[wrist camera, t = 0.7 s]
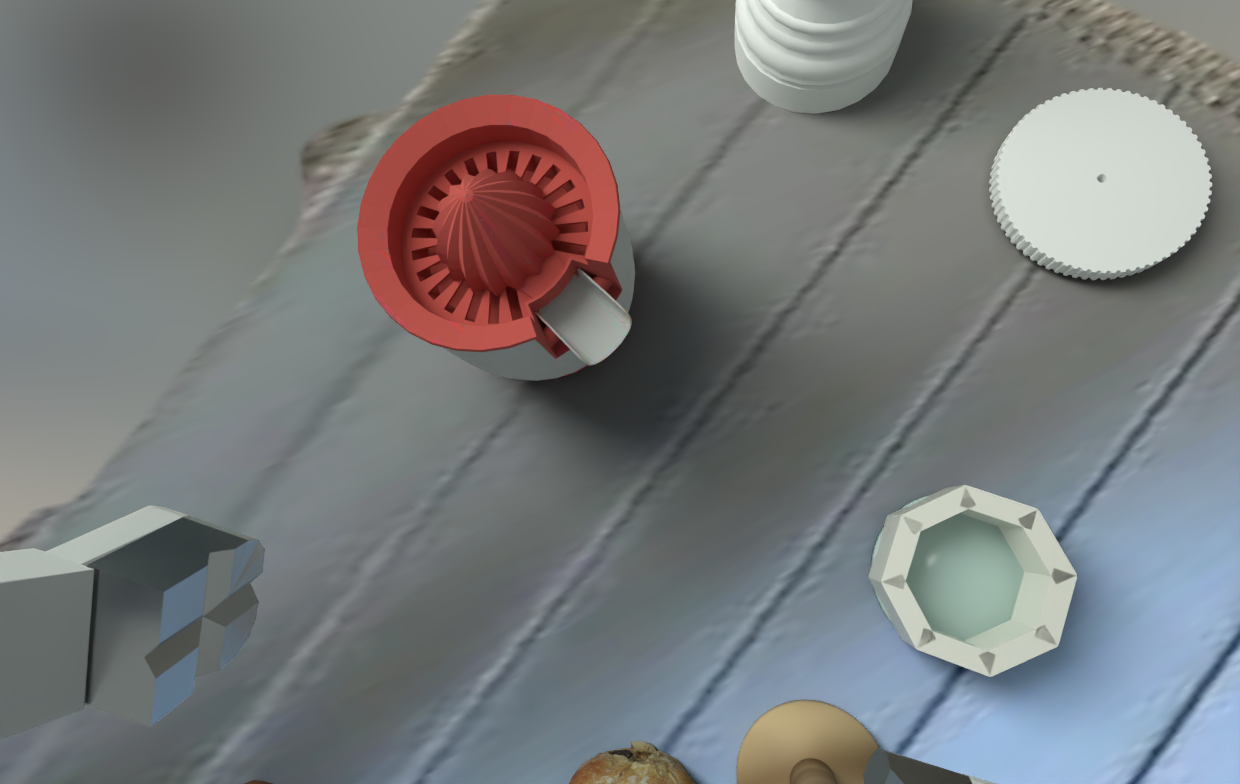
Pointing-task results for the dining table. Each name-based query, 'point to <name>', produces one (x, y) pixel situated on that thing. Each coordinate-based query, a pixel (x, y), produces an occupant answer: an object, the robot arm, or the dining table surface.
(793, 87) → the honey pot
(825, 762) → the wooden lid
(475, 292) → the citrus juicer
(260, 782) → the food container
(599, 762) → the bread roll
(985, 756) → the dining table surface
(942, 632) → the octagonal jar
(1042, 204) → the plastic lid
